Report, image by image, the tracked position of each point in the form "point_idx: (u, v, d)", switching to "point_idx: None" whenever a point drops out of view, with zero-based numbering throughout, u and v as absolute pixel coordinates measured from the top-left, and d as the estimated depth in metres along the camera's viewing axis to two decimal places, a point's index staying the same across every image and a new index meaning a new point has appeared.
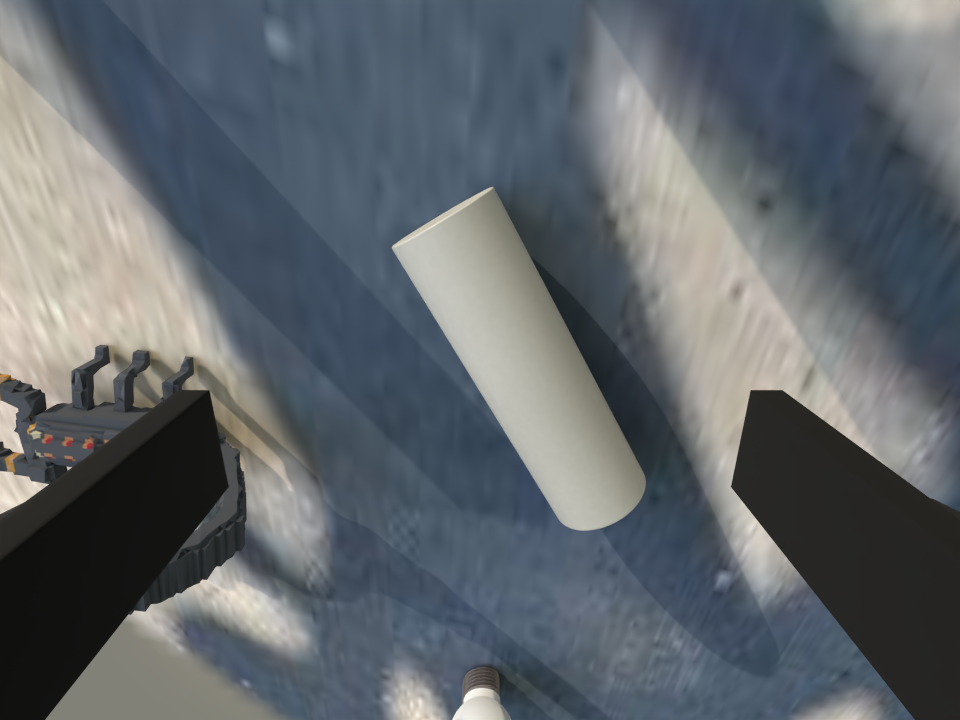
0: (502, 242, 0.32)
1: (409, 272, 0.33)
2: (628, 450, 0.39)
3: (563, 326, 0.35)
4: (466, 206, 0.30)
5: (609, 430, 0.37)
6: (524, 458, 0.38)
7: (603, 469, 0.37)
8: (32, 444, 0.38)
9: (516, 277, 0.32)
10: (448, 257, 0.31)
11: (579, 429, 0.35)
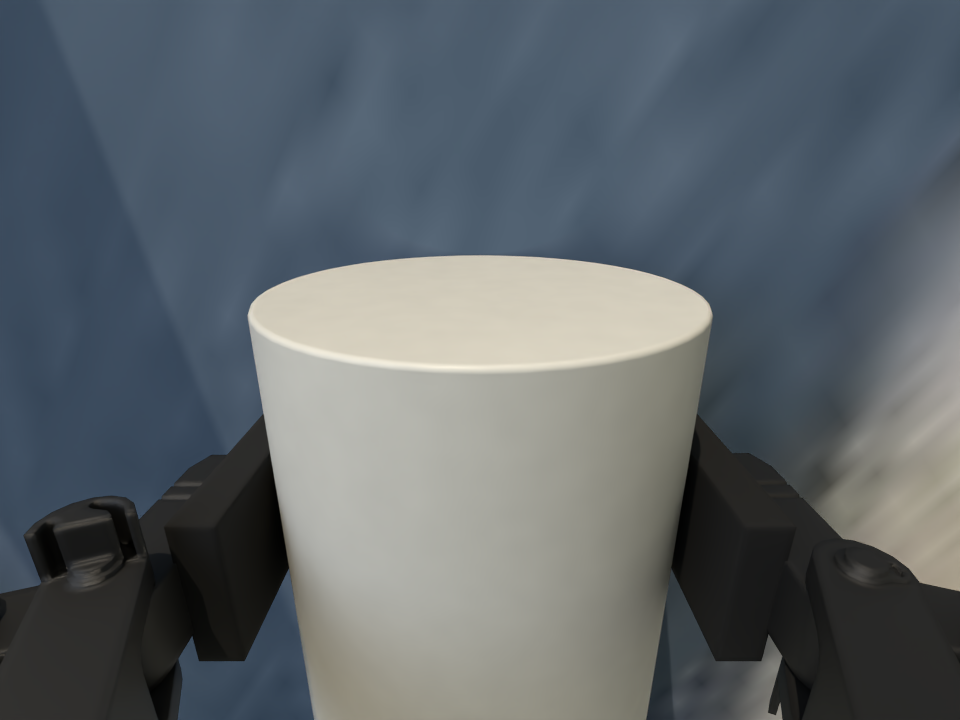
0: (664, 524, 0.08)
1: (267, 430, 0.08)
2: None
3: None
4: (642, 355, 0.06)
5: None
6: None
7: None
8: None
9: (634, 650, 0.08)
10: (445, 522, 0.06)
11: None
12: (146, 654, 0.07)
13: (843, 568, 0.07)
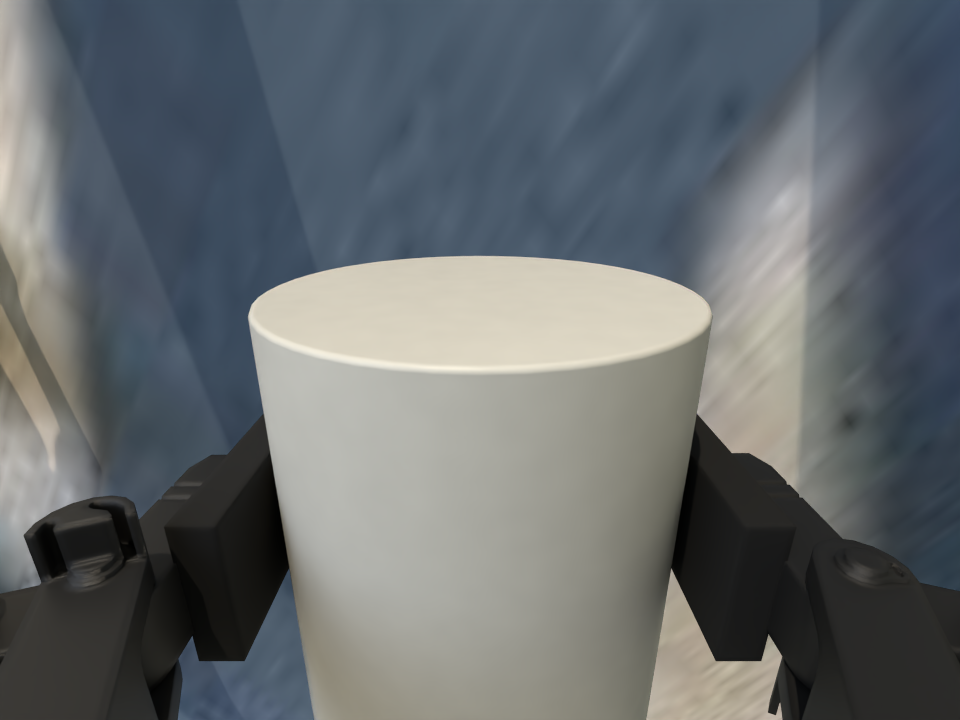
0: (663, 524, 0.08)
1: (267, 431, 0.08)
2: None
3: None
4: (641, 356, 0.06)
5: None
6: None
7: None
8: None
9: (634, 651, 0.08)
10: (444, 522, 0.06)
11: None
12: (146, 654, 0.07)
13: (843, 568, 0.07)
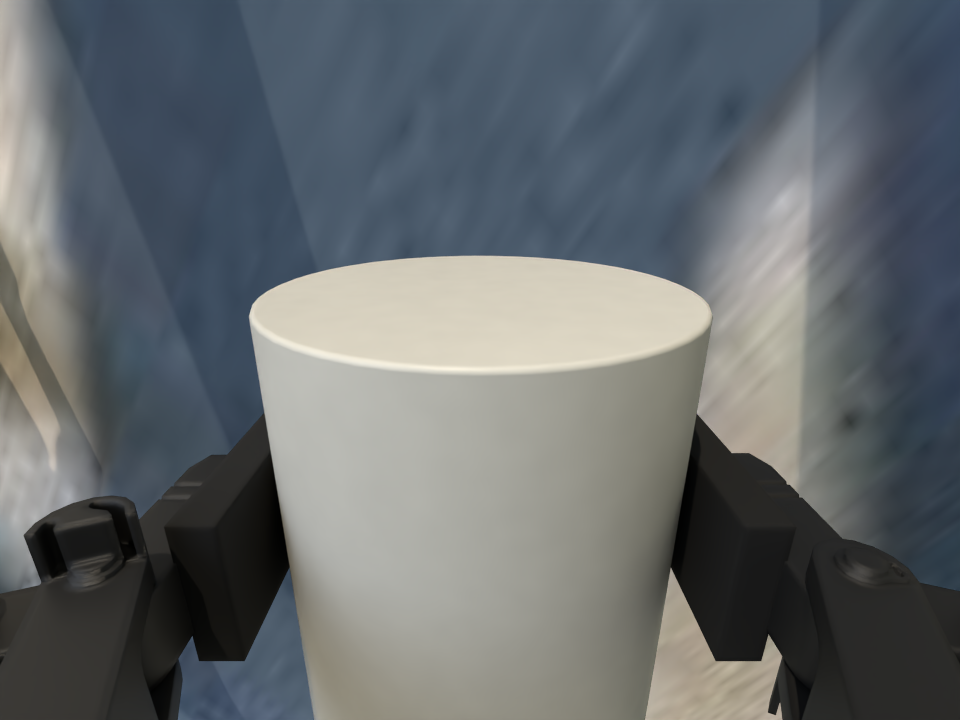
0: (664, 524, 0.08)
1: (268, 430, 0.08)
2: None
3: None
4: (642, 357, 0.06)
5: None
6: None
7: None
8: None
9: (634, 650, 0.08)
10: (446, 521, 0.06)
11: None
12: (146, 654, 0.07)
13: (843, 568, 0.07)
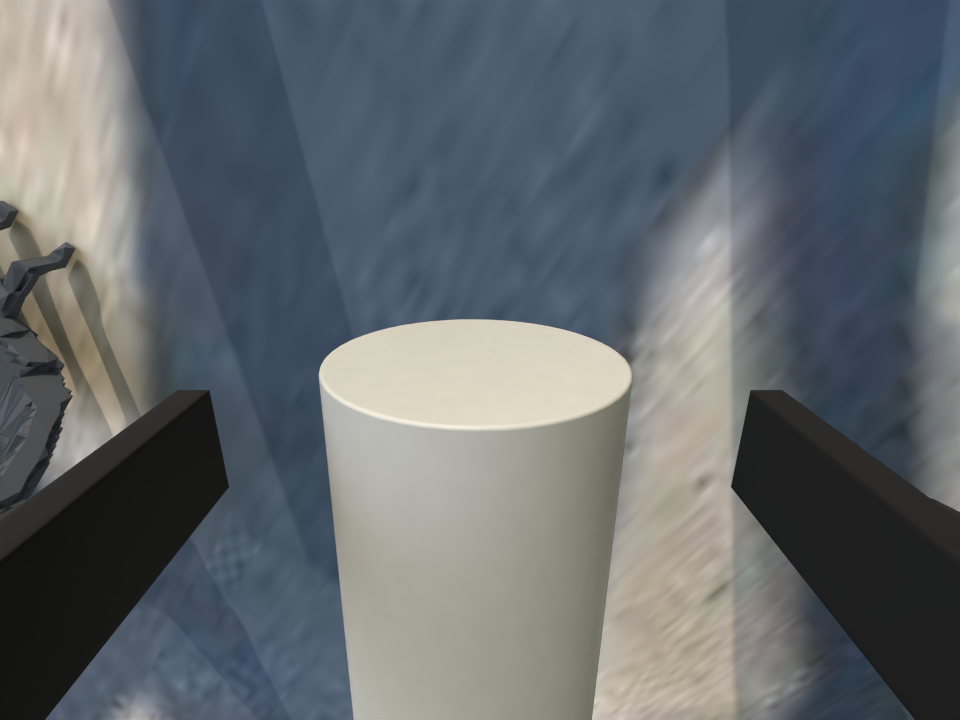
0: (598, 523, 0.12)
1: (330, 458, 0.12)
2: None
3: None
4: (575, 418, 0.10)
5: None
6: None
7: None
8: None
9: (580, 611, 0.12)
10: (454, 520, 0.10)
11: None
12: None
13: None
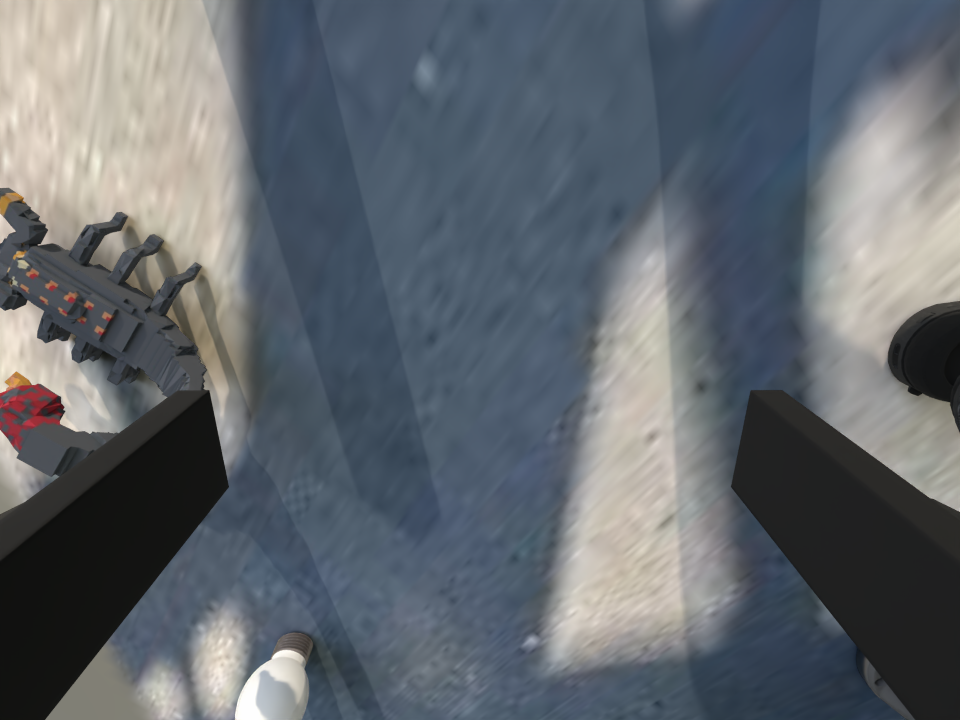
0: None
1: None
2: None
3: None
4: None
5: None
6: None
7: None
8: (13, 270, 0.38)
9: None
10: None
11: None
12: None
13: None
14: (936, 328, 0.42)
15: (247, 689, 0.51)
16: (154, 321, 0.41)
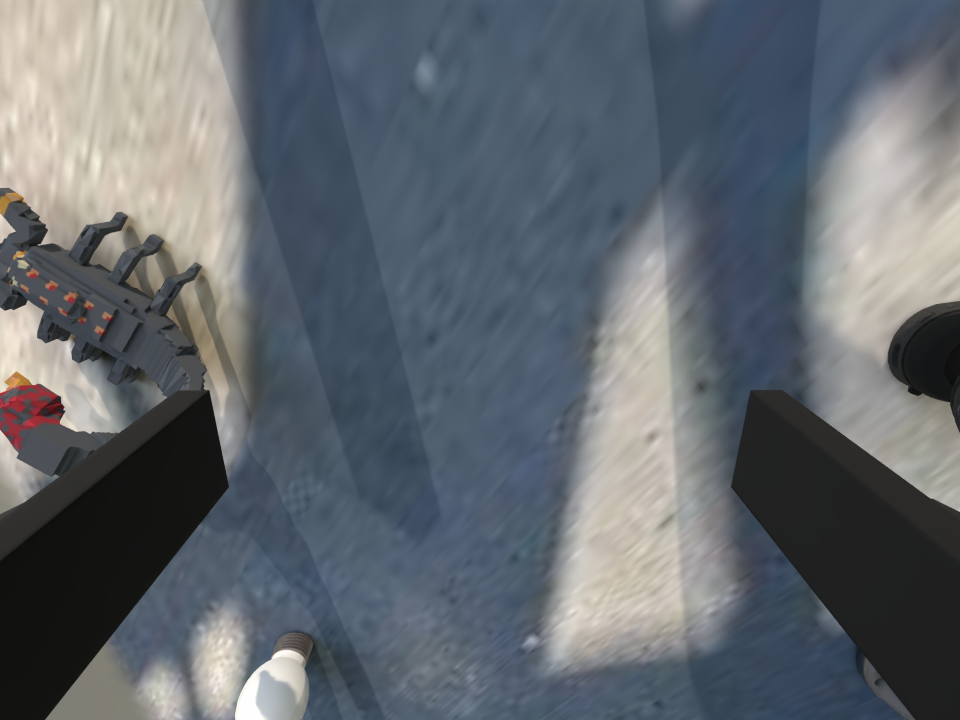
0: None
1: None
2: None
3: None
4: None
5: None
6: None
7: None
8: (13, 270, 0.38)
9: None
10: None
11: None
12: None
13: None
14: (936, 328, 0.42)
15: (247, 689, 0.51)
16: (154, 321, 0.41)
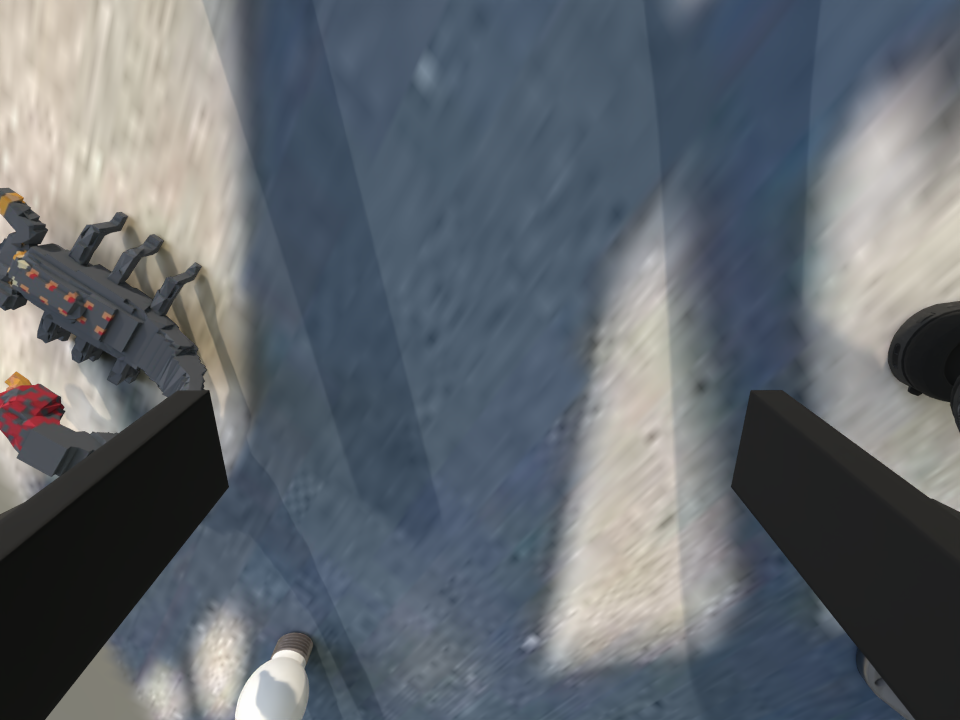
0: None
1: None
2: None
3: None
4: None
5: None
6: None
7: None
8: (13, 270, 0.38)
9: None
10: None
11: None
12: None
13: None
14: (936, 328, 0.42)
15: (247, 689, 0.51)
16: (154, 321, 0.41)
